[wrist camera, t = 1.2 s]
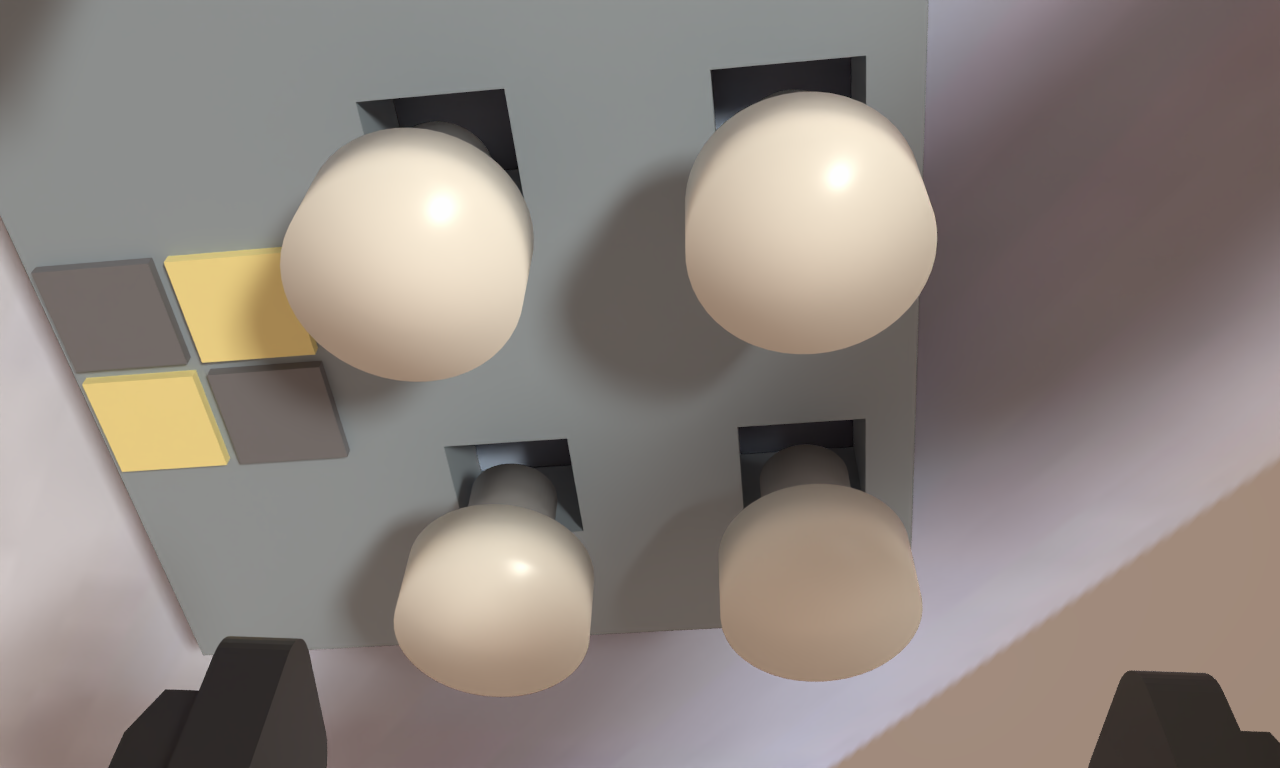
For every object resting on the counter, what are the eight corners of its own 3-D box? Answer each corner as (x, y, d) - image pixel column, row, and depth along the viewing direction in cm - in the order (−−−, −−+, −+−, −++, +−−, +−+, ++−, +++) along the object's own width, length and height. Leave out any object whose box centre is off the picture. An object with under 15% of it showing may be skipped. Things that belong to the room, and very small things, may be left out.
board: (910, -194, 27) (936, -158, 24) (895, 548, 39) (910, 625, 37) (-54, -89, 28) (-130, -46, 26) (231, 586, 41) (200, 662, 39)
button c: (528, 60, 27) (501, 162, 23) (560, 252, 29) (541, 373, 25) (313, 80, 27) (249, 183, 23) (365, 268, 30) (315, 389, 26)
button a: (901, 25, 26) (942, 123, 22) (897, 225, 29) (932, 345, 25) (675, 46, 26) (674, 147, 22) (693, 241, 29) (695, 362, 25)
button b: (894, 402, 32) (925, 534, 28) (892, 538, 35) (919, 676, 31) (709, 415, 32) (713, 547, 28) (721, 548, 35) (727, 686, 31)
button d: (588, 423, 32) (575, 555, 28) (610, 554, 35) (601, 692, 31) (411, 435, 33) (373, 566, 29) (446, 564, 36) (416, 701, 32)
